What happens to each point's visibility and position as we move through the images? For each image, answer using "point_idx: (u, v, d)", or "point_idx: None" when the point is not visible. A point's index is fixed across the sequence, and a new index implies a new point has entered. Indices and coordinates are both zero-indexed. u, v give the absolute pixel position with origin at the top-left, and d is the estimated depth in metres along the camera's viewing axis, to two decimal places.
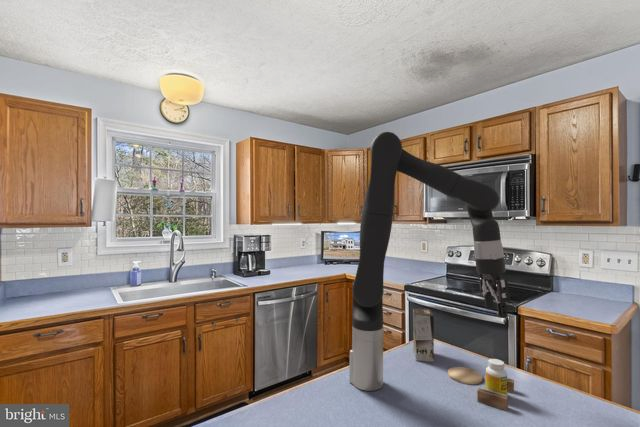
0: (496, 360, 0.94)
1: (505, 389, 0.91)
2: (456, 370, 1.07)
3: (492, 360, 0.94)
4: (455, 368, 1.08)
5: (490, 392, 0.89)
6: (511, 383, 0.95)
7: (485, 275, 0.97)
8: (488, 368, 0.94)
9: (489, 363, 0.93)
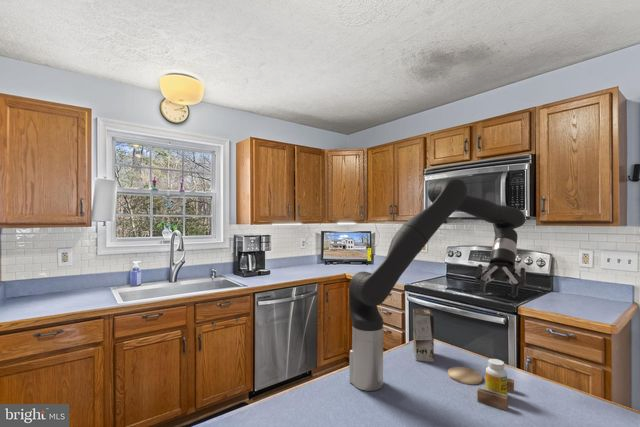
0: (496, 360, 0.94)
1: (505, 389, 0.91)
2: (456, 370, 1.07)
3: (492, 360, 0.94)
4: (455, 368, 1.08)
5: (490, 392, 0.89)
6: (511, 383, 0.95)
7: (495, 265, 1.10)
8: (488, 368, 0.94)
9: (489, 363, 0.93)
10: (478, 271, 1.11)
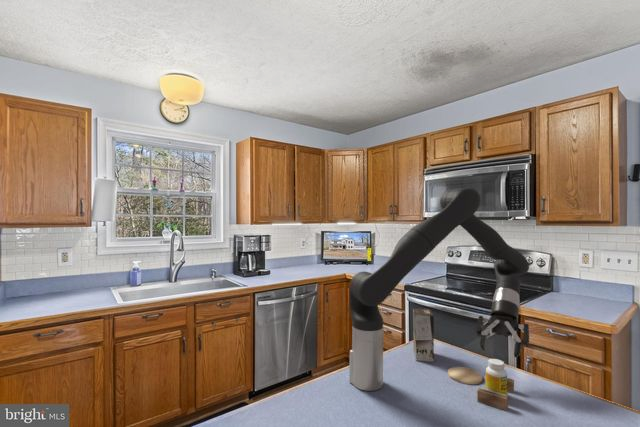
0: (496, 360, 0.94)
1: (505, 389, 0.91)
2: (456, 370, 1.07)
3: (492, 360, 0.94)
4: (455, 368, 1.08)
5: (490, 392, 0.89)
6: (511, 383, 0.95)
7: (497, 318, 1.04)
8: (488, 368, 0.94)
9: (489, 363, 0.93)
10: (479, 324, 1.05)
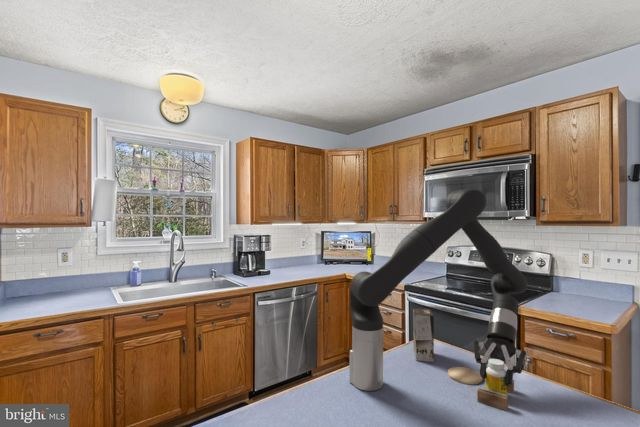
0: (496, 360, 0.94)
1: (505, 389, 0.91)
2: (456, 370, 1.07)
3: (492, 360, 0.94)
4: (455, 368, 1.08)
5: (490, 392, 0.89)
6: None
7: (493, 341, 0.99)
8: (488, 368, 0.94)
9: (489, 363, 0.93)
10: (476, 350, 0.99)
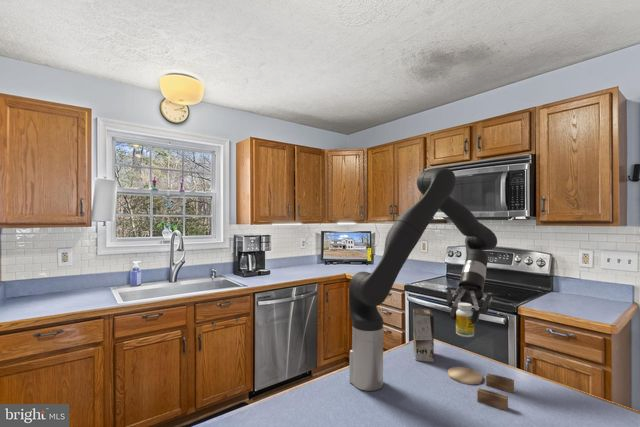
0: (465, 303, 1.06)
1: (472, 327, 1.02)
2: (456, 370, 1.07)
3: (461, 303, 1.06)
4: (455, 368, 1.08)
5: (490, 392, 0.89)
6: (511, 383, 0.95)
7: (464, 288, 1.10)
8: (458, 310, 1.05)
9: (458, 305, 1.05)
10: (448, 296, 1.10)
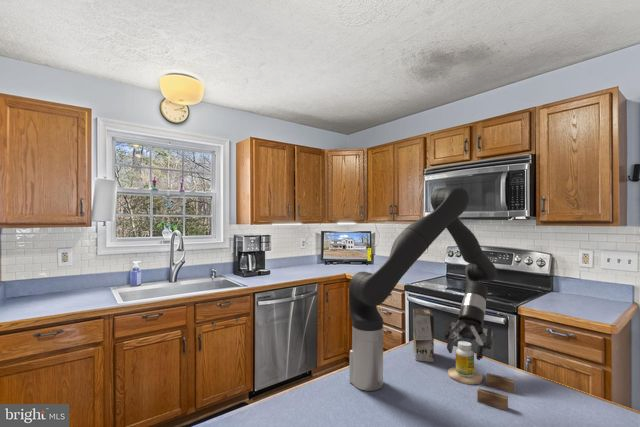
0: (465, 342, 1.06)
1: (472, 367, 1.02)
2: None
3: (461, 342, 1.06)
4: (455, 368, 1.08)
5: (490, 392, 0.89)
6: (511, 383, 0.95)
7: (464, 322, 1.10)
8: (457, 349, 1.05)
9: (458, 344, 1.05)
10: (447, 328, 1.11)
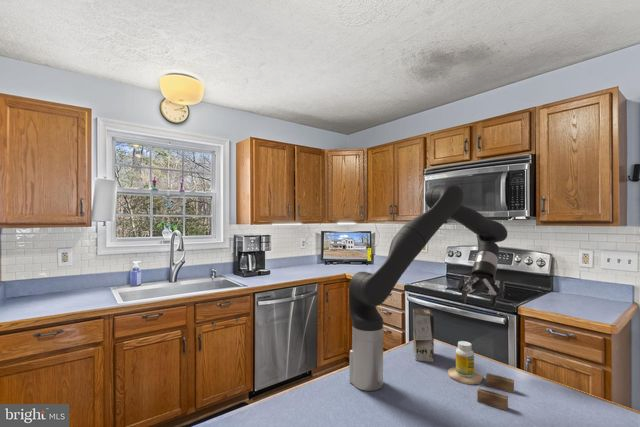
0: (465, 342, 1.06)
1: (472, 367, 1.02)
2: None
3: (461, 342, 1.06)
4: (455, 368, 1.08)
5: (490, 392, 0.89)
6: (511, 383, 0.95)
7: (477, 276, 1.16)
8: (457, 349, 1.05)
9: (458, 344, 1.05)
10: (460, 282, 1.17)
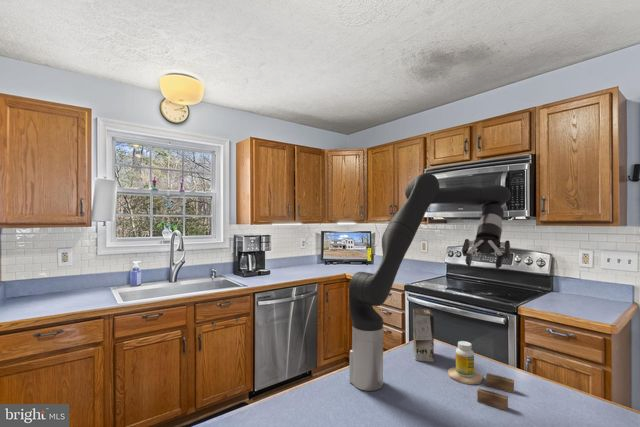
0: (465, 342, 1.06)
1: (472, 367, 1.02)
2: None
3: (461, 342, 1.06)
4: (455, 368, 1.08)
5: (490, 392, 0.89)
6: (511, 383, 0.95)
7: (481, 239, 1.13)
8: (457, 349, 1.05)
9: (458, 344, 1.05)
10: (465, 245, 1.14)
